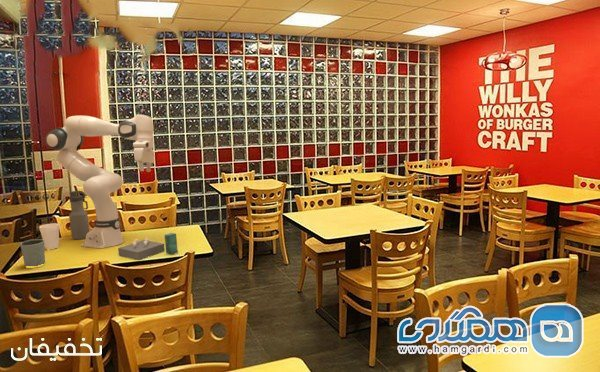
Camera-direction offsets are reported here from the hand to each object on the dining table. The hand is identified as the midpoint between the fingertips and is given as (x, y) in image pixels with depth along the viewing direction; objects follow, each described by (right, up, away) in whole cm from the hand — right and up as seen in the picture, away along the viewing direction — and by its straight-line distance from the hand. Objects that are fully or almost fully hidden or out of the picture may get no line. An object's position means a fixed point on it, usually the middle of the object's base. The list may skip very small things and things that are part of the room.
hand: (145, 171), depth 239 cm
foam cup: (-55, -42, +10) cm, 70 cm away
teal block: (+16, -42, -7) cm, 46 cm away
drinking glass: (-47, -47, -18) cm, 69 cm away
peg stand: (0, -42, -5) cm, 43 cm away
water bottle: (-48, -39, +31) cm, 69 cm away
